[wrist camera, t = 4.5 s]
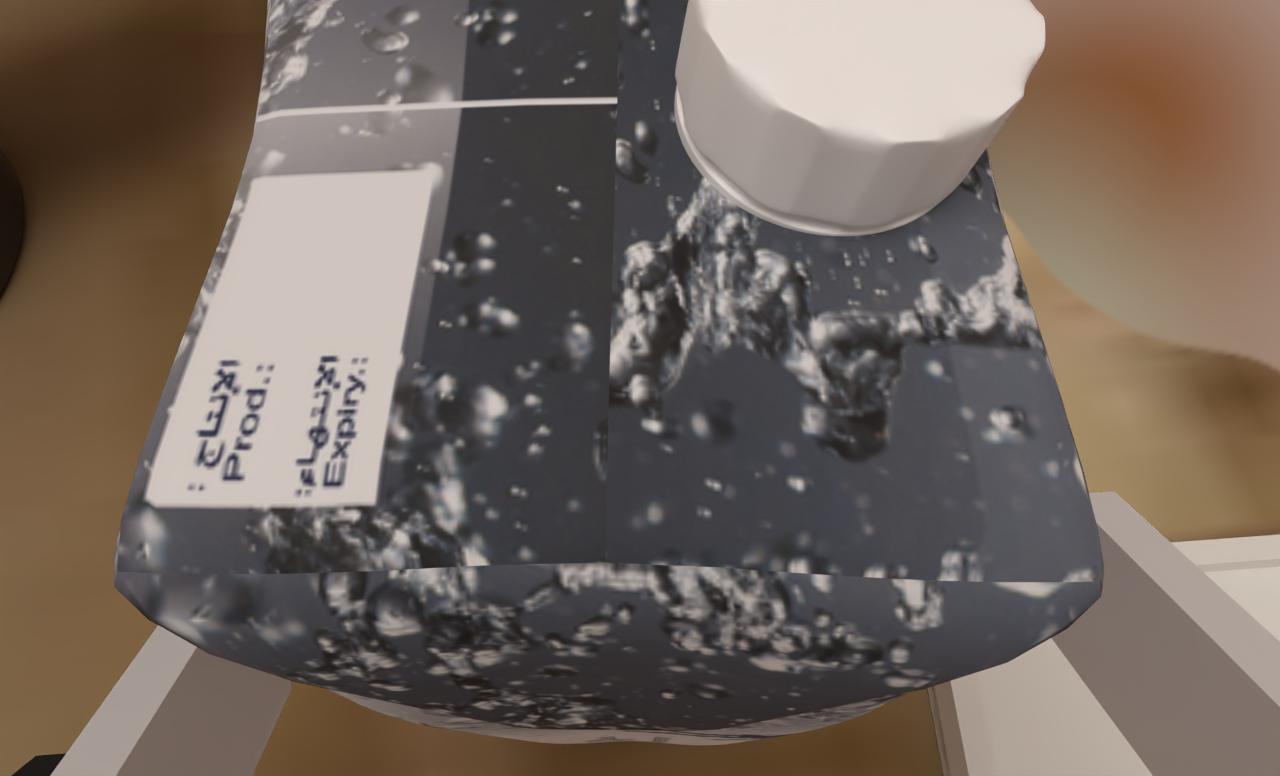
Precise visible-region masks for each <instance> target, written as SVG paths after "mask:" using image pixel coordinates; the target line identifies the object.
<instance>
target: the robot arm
mask: <svg viewBox="0 0 1280 776" xmlns="http://www.w3.org/2000/svg"><path fill="white" fill-rule="evenodd" d="M22 231H23V200H22V195H21V190H20V186H19V183H18V180H17V177H16V175H15V172H14V170H13V168H12V166H11V165H10V163H9V161H8V160H7V158H6V157H5V155H4V154H3V153H2V151H1V150H0V293H1V291H2V289H3V287H4V285H5V284H6V282H7V280H8V278H9V275H10V273H11V271H12V268H13V266H14V263H15V260H16V257H17V254H18V251H19V247H20V243H21V237H22ZM1089 496H1090V500H1091V504H1092V508H1093V512H1094V516H1095V520H1096V524H1097V528H1098V533H1099V539H1100V545H1101V551H1102V557H1103V563H1104V578H1103V587H1102V594H1101V597H1100V598H1099V599H1098V600H1097V601H1096V602H1095V603H1094V604H1093V605H1092V606H1091V607H1090V608H1089V609H1088V610H1087V611H1086V612H1085V613H1083V614H1082V615H1081V616H1080V617H1079V618H1078V619H1077V620H1076V621H1075V622H1074V623H1073V624H1072V625H1071V626H1070V627H1069V628H1068V629H1066V630H1064V631H1063V632H1061V633H1059V634H1057V635H1055V636H1054V637H1052V640H1053V641H1054V642H1055V644H1056V645H1057V646H1058V648H1059V649H1060V650H1061V652H1062V653H1063V655H1064V656H1065V657H1066V659H1067V660H1068V661H1069V663H1070V664H1071V665H1072V667H1073V668H1074V669H1075V671H1076V672H1077V673H1078V675H1079V676H1080V678H1081V679H1082V680H1083V682H1084V683H1085V684H1086V686H1087V687H1088V688H1089V690H1090V691H1091V692H1092V694H1093V695H1094V697H1095V698H1096V699H1097V701H1098V702H1099V703H1100V705H1101V706H1102V707H1103V709H1104V710H1105V711H1106V713H1107V714H1108V715H1109V717H1110V718H1111V720H1112V721H1113V722H1114V724H1115V725H1116V726H1117V728H1118V729H1119V730H1120V732H1121V733H1122V734H1123V736H1124V737H1125V738H1126V740H1127V741H1128V743H1129V744H1130V745H1131V747H1132V748H1133V749H1134V751H1135V752H1136V753H1137V755H1138V756H1139V757H1140V759H1141V760H1142V762H1143V763H1144V764H1145V766H1146V767H1147V768H1148V770H1149V771H1150V772H1151V774H1152V775H1153V776H1280V641H1278V640H1277V639H1276V638H1275V637H1274V636H1273V635H1272V634H1271V633H1270V632H1269V631H1267V630H1266V629H1265V628H1264V627H1263V626H1262V625H1261V624H1260V623H1259V622H1258V621H1256V620H1255V619H1254V618H1253V617H1252V616H1251V615H1250V614H1249V613H1248V612H1247V611H1245V610H1244V609H1243V608H1242V607H1241V606H1240V605H1239V604H1238V603H1237V602H1236V601H1234V600H1233V599H1232V598H1231V597H1230V596H1229V595H1228V594H1227V593H1226V592H1225V591H1223V590H1222V589H1221V588H1220V587H1219V586H1218V585H1217V584H1216V583H1215V582H1214V581H1212V580H1211V579H1210V578H1209V577H1208V576H1207V575H1206V574H1205V573H1204V572H1203V571H1201V570H1200V569H1199V568H1198V567H1197V566H1196V565H1195V564H1194V563H1193V562H1192V561H1190V560H1189V559H1188V558H1187V557H1186V556H1185V555H1184V554H1183V553H1182V552H1181V551H1179V550H1178V549H1177V548H1176V547H1175V546H1174V545H1173V544H1172V543H1171V542H1170V541H1168V540H1167V539H1166V538H1165V537H1164V536H1163V535H1162V534H1161V533H1160V532H1159V531H1157V530H1156V529H1155V528H1154V527H1153V526H1152V525H1151V524H1150V523H1149V522H1148V521H1146V520H1145V519H1144V518H1143V517H1142V516H1141V515H1140V514H1139V513H1138V512H1137V511H1135V510H1134V509H1133V508H1132V507H1131V506H1130V505H1129V504H1128V503H1127V502H1126V501H1124V500H1123V499H1122V498H1121V497H1120V496H1119V495H1118V494H1117V493H1116V492H1115V491H1112V492H1098V493H1089ZM291 689H292V685H291V681H290V680H287V679H284V678H281V677H278V676H275V675H272V674H269V673H266V672H263V671H260V670H257V669H254V668H250V667H247V666H244V665H241V664H238V663H235V662H232V661H229V660H226V659H223V658H220V657H216V656H214V655H211V654H209V653H207V652H205V651H203V650H201V649H200V648H198V647H196V646H194V645H193V644H191V643H189V642H187V641H186V640H184V639H182V638H180V637H178V636H177V635H175V634H173V633H171V632H170V631H168V630H166V629H164V628H163V627H161V626H159V625H158V626H157V628H156V629H155V630H154V632H153V633H152V635H151V636H150V637H149V639H148V640H147V641H146V643H145V644H144V646H143V647H142V648H141V650H140V651H139V653H138V654H137V655H136V657H135V658H134V660H133V661H132V662H131V664H130V665H129V667H128V668H127V669H126V671H125V672H124V674H123V675H122V676H121V678H120V679H119V681H118V682H117V683H116V685H115V686H114V688H113V689H112V690H111V692H110V693H109V695H108V696H107V697H106V699H105V700H104V701H103V703H102V704H101V706H100V707H99V708H98V710H97V711H96V713H95V714H94V715H93V717H92V718H91V720H90V721H89V722H88V724H87V725H86V727H85V728H84V729H83V731H82V732H81V734H80V735H79V736H78V738H77V739H76V741H75V742H74V743H73V745H72V746H71V748H70V749H69V750H68V752H67V753H66V754H54V755H41V756H35V757H34V758H33V759H32V760H30V761H29V762H28V763H27V764H25V765H24V766H23V767H22V768H20V769H19V770H18V771H17V772H15V773H14V774H13V775H12V776H253V774H254V772H255V769H256V767H257V765H258V763H259V760H260V758H261V756H262V754H263V752H264V749H265V747H266V745H267V743H268V740H269V738H270V736H271V734H272V731H273V729H274V727H275V725H276V723H277V720H278V718H279V716H280V714H281V711H282V709H283V707H284V705H285V703H286V700H287V698H288V696H289V694H290V691H291Z"/></svg>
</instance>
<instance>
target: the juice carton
mask: <svg viewBox="0 0 1280 776" xmlns="http://www.w3.org/2000/svg"><path fill="white" fill-rule="evenodd" d="M1044 45H1045V21H1044V17H1043V16H1042V14H1040V13H1039V12H1038V11H1037V10H1036V8H1035V7H1034V6H1033V4H1032V3H1031V2H1030V0H268V4H267V21H266V37H265V54H264V63H263V70H262V77H261V84H260V91H259V98H258V105H257V113H256V120H255V127H254V134H253V138H252V141H251V145H250V148H249V152H248V155H247V159H246V162H245V165H244V169H243V172H242V176H241V179H240V183H239V186H238V190H237V193H236V196H235V200H234V203H233V207H232V210H231V213H230V215H229V218H228V221H227V223H226V226H225V228H224V231H223V234H222V236H221V239H220V242H219V244H218V247H217V250H216V252H215V255H214V257H213V260H212V263H211V265H210V268H209V271H208V273H207V276H206V278H205V281H204V284H203V286H202V289H201V292H200V294H199V297H198V299H197V302H196V305H195V307H194V310H193V313H192V315H191V318H190V321H189V323H188V326H187V328H186V331H185V334H184V336H183V339H182V342H181V344H180V347H179V350H178V352H177V355H176V357H175V360H174V363H173V365H172V368H171V371H170V373H169V376H168V379H167V381H166V384H165V387H164V390H163V392H162V395H161V398H160V401H159V404H158V407H157V409H156V412H155V415H154V418H153V421H152V424H151V427H150V429H149V432H148V435H147V438H146V441H145V444H144V447H143V449H142V452H141V455H140V458H139V461H138V464H137V467H136V471H135V474H134V478H133V481H132V485H131V488H130V492H129V495H128V499H127V502H126V506H125V509H124V513H123V516H122V520H121V525H120V530H119V534H118V539H117V544H116V548H115V553H114V587H115V588H116V589H117V590H118V591H119V592H120V593H121V594H122V595H123V596H125V597H126V598H127V599H128V600H129V601H130V602H131V603H132V604H133V605H134V606H135V607H136V608H137V609H138V610H139V611H140V612H141V613H142V614H143V615H144V616H145V617H146V618H147V619H148V620H150V621H152V622H154V623H156V624H157V625H159V626H161V627H163V628H164V629H166V630H168V631H170V632H171V633H173V634H175V635H177V636H178V637H180V638H182V639H184V640H186V641H187V642H189V643H191V644H193V645H194V646H196V647H198V648H200V649H201V650H203V651H205V652H207V653H209V654H211V655H214V656H216V657H220V658H223V659H226V660H229V661H232V662H235V663H238V664H241V665H244V666H247V667H250V668H254V669H257V670H260V671H263V672H266V673H269V674H272V675H275V676H278V677H281V678H284V679H287V680H291V681H294V682H299V683H303V684H308V685H312V686H317V687H322V688H326V689H328V690H330V691H332V692H335V693H337V694H339V695H341V696H343V697H345V698H347V699H349V700H351V701H353V702H355V703H357V704H359V705H361V706H364V707H367V708H369V709H372V710H374V711H377V712H380V713H382V714H385V715H388V716H391V717H395V718H398V719H401V720H405V721H409V722H413V723H417V724H421V725H425V726H431V727H437V728H443V729H449V730H455V731H461V732H468V733H475V734H482V735H489V736H496V737H503V738H510V739H517V740H524V741H532V742H540V743H552V744H584V743H600V742H618V741H641V742H657V743H667V744H678V745H724V744H732V743H739V742H745V741H752V740H758V739H765V738H771V737H778V736H784V735H790V734H796V733H801V732H806V731H812V730H816V729H820V728H823V727H827V726H831V725H834V724H838V723H841V722H845V721H848V720H852V719H854V718H857V717H859V716H861V715H864V714H866V713H868V712H871V711H873V710H875V709H877V708H879V707H880V706H882V705H884V704H886V703H888V702H890V701H892V700H894V699H896V698H898V697H900V696H902V695H904V694H906V693H908V692H911V691H916V690H921V689H926V688H929V687H932V686H936V685H939V684H942V683H945V682H948V681H951V680H954V679H958V678H961V677H964V676H967V675H970V674H973V673H976V672H980V671H983V670H986V669H989V668H992V667H995V666H998V665H1001V664H1005V663H1008V662H1009V661H1011V660H1013V659H1015V658H1017V657H1018V656H1020V655H1022V654H1024V653H1025V652H1027V651H1029V650H1031V649H1032V648H1034V647H1036V646H1038V645H1040V644H1041V643H1043V642H1045V641H1047V640H1048V639H1050V638H1052V637H1054V636H1055V635H1057V634H1059V633H1061V632H1063V631H1064V630H1066V629H1068V628H1069V627H1070V626H1071V625H1072V624H1073V623H1074V622H1075V621H1076V620H1077V619H1078V618H1079V617H1080V616H1081V615H1082V614H1083V613H1085V612H1086V611H1087V610H1088V609H1089V608H1090V607H1091V606H1092V605H1093V604H1094V603H1095V602H1096V601H1097V600H1098V599H1099V598H1100V597H1101V594H1102V587H1103V578H1104V563H1103V557H1102V551H1101V545H1100V539H1099V533H1098V528H1097V524H1096V520H1095V516H1094V512H1093V508H1092V504H1091V500H1090V496H1089V492H1088V488H1087V484H1086V480H1085V476H1084V472H1083V469H1082V465H1081V462H1080V459H1079V455H1078V452H1077V449H1076V445H1075V442H1074V438H1073V435H1072V432H1071V428H1070V425H1069V422H1068V418H1067V415H1066V411H1065V408H1064V405H1063V401H1062V398H1061V395H1060V392H1059V389H1058V386H1057V382H1056V379H1055V376H1054V373H1053V370H1052V367H1051V364H1050V361H1049V358H1048V355H1047V352H1046V349H1045V345H1044V342H1043V339H1042V336H1041V333H1040V330H1039V327H1038V324H1037V321H1036V318H1035V315H1034V311H1033V308H1032V305H1031V302H1030V299H1029V296H1028V293H1027V290H1026V287H1025V284H1024V281H1023V278H1022V275H1021V272H1020V269H1019V265H1018V262H1017V259H1016V256H1015V253H1014V250H1013V247H1012V244H1011V241H1010V238H1009V235H1008V232H1007V229H1006V225H1005V221H1004V217H1003V213H1002V208H1001V204H1000V200H999V196H998V192H997V188H996V184H995V179H994V175H993V171H992V167H991V163H990V159H989V155H988V151H987V146H988V145H989V144H990V142H991V141H992V139H993V138H994V136H995V135H996V134H997V132H998V131H999V130H1000V128H1001V127H1002V125H1003V124H1004V123H1005V121H1006V120H1007V118H1008V117H1009V116H1010V114H1011V113H1012V111H1013V110H1014V109H1015V107H1016V106H1017V104H1018V103H1019V102H1020V100H1021V99H1022V97H1023V95H1024V86H1025V84H1026V81H1027V79H1028V77H1029V75H1030V73H1031V71H1032V69H1033V67H1034V66H1035V64H1036V63H1037V61H1038V59H1039V58H1040V56H1041V54H1042V52H1043V50H1044Z"/></svg>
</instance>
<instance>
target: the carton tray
mask: <svg viewBox="0 0 1280 776" xmlns="http://www.w3.org/2000/svg"><path fill="white" fill-rule="evenodd" d="M1172 544H1173V545H1174V546H1175V547H1176V548H1177V549H1178V550H1179V551H1181V552H1182V553H1183V554H1184V555H1185V556H1186V557H1187V558H1188V559H1189V560H1190V561H1192V562H1193V563H1194V564H1195V565H1196V566H1197V567H1198V568H1199V569H1200V570H1201V571H1203V572H1204V573H1205V574H1206V575H1207V576H1208V577H1209V578H1210V579H1211V580H1212V581H1214V582H1215V583H1216V584H1217V585H1218V586H1219V587H1220V588H1221V589H1222V590H1223V591H1225V592H1226V593H1227V594H1228V595H1229V596H1230V597H1231V598H1232V599H1233V600H1234V601H1236V602H1237V603H1238V604H1239V605H1240V606H1241V607H1242V608H1243V609H1244V610H1245V611H1247V612H1248V613H1249V614H1250V615H1251V616H1252V617H1253V618H1254V619H1255V620H1256V621H1258V622H1259V623H1260V624H1261V625H1262V626H1263V627H1264V628H1265V629H1266V630H1267V631H1269V632H1270V633H1271V634H1272V635H1273V636H1274V637H1275V638H1276V639H1277V640H1278V641H1280V535H1267V536H1254V537H1240V538H1226V539H1213V540H1199V541H1186V542H1172ZM927 689H928V694H929V699H930V705H931V710H932V716H933V721H934V726H935V732H936V737H937V742H938V748H939V753H940V759H941V764H942V769H943V775H944V776H1153V775H1152V774H1151V772H1150V771H1149V770H1148V768H1147V767H1146V766H1145V764H1144V763H1143V762H1142V760H1141V759H1140V757H1139V756H1138V755H1137V753H1136V752H1135V751H1134V749H1133V748H1132V747H1131V745H1130V744H1129V743H1128V741H1127V740H1126V738H1125V737H1124V736H1123V734H1122V733H1121V732H1120V730H1119V729H1118V728H1117V726H1116V725H1115V724H1114V722H1113V721H1112V720H1111V718H1110V717H1109V715H1108V714H1107V713H1106V711H1105V710H1104V709H1103V707H1102V706H1101V705H1100V703H1099V702H1098V701H1097V699H1096V698H1095V697H1094V695H1093V694H1092V692H1091V691H1090V690H1089V688H1088V687H1087V686H1086V684H1085V683H1084V682H1083V680H1082V679H1081V678H1080V676H1079V675H1078V673H1077V672H1076V671H1075V669H1074V668H1073V667H1072V665H1071V664H1070V663H1069V661H1068V660H1067V659H1066V657H1065V656H1064V655H1063V653H1062V652H1061V650H1060V649H1059V648H1058V646H1057V645H1056V644H1055V642H1054V641H1053V640H1052V638H1050V639H1048V640H1047V641H1045V642H1043V643H1041V644H1040V645H1038V646H1036V647H1034V648H1032V649H1031V650H1029V651H1027V652H1025V653H1024V654H1022V655H1020V656H1018V657H1017V658H1015V659H1013V660H1011V661H1009V662H1008V663H1005V664H1001V665H998V666H995V667H992V668H989V669H986V670H983V671H980V672H976V673H973V674H970V675H967V676H964V677H961V678H958V679H954V680H951V681H948V682H945V683H942V684H939V685H936V686H932V687H929V688H927Z"/></svg>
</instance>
